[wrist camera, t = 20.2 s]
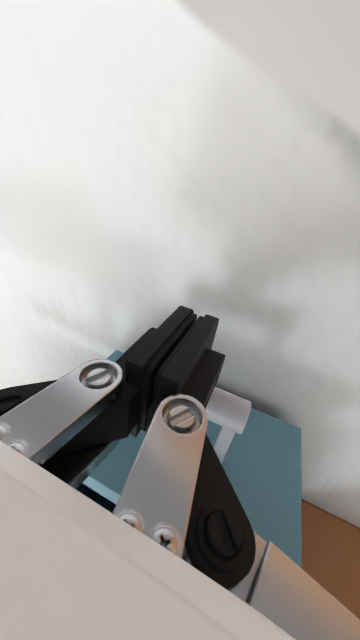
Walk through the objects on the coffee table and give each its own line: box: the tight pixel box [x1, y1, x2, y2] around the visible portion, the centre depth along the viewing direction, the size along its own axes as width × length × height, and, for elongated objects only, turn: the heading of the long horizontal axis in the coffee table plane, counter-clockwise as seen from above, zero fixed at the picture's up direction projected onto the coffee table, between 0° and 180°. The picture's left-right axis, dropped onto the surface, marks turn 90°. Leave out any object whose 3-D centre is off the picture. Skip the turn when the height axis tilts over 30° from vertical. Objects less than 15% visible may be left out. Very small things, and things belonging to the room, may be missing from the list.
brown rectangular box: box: [301, 500, 360, 620], centre depth 14 cm, size 4×6×12 cm, turn 81°
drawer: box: [76, 350, 301, 567], centre depth 16 cm, size 18×13×8 cm
